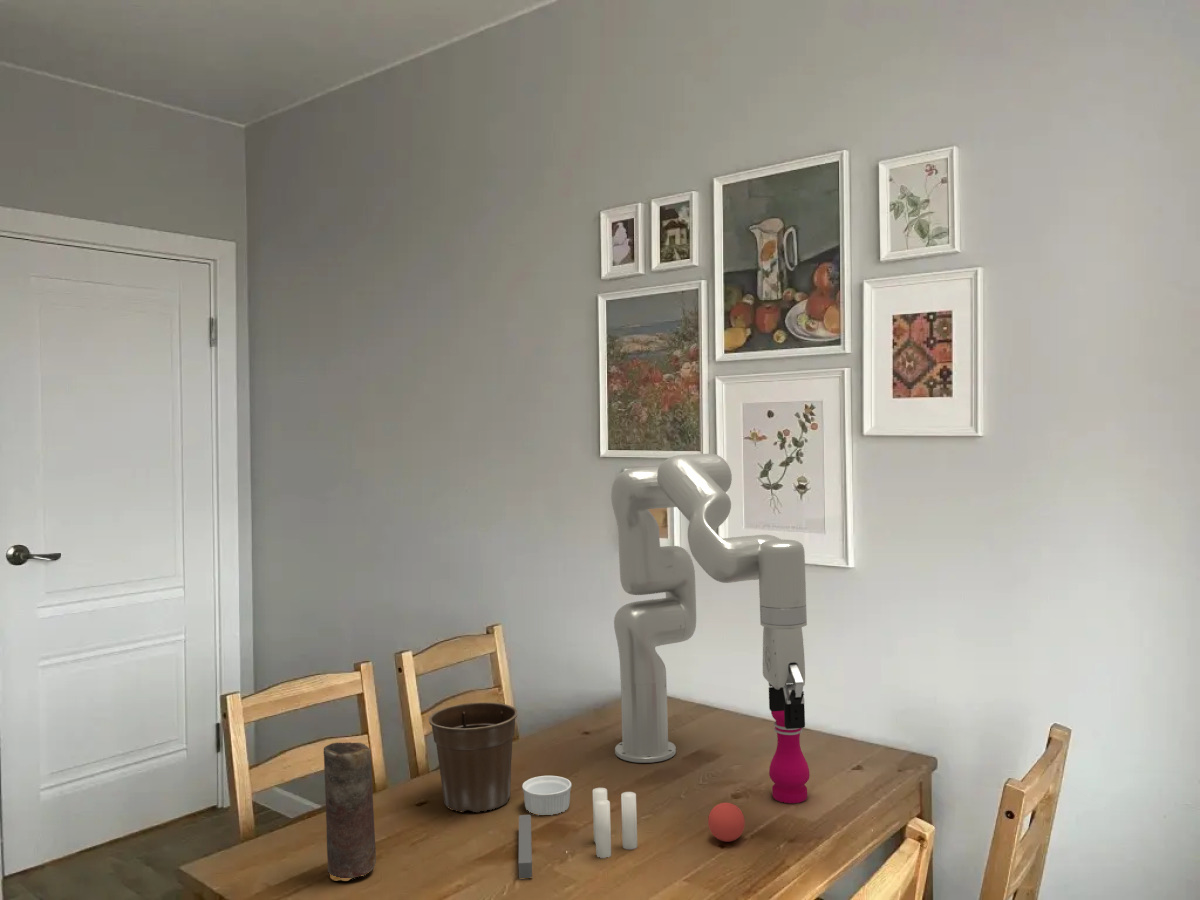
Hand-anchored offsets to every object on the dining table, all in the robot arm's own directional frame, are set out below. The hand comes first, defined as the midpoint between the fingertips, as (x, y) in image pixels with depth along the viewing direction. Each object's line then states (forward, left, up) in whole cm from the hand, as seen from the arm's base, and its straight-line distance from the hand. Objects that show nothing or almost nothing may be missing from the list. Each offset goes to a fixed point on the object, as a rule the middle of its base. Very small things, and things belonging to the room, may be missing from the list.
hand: (786, 718), depth 160 cm
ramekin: (-18, -40, -20) cm, 48 cm away
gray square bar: (0, -44, -19) cm, 48 cm away
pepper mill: (-16, +4, -20) cm, 26 cm away
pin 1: (-2, -31, -19) cm, 37 cm away
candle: (+3, -71, -20) cm, 73 cm away
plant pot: (-23, -53, -20) cm, 61 cm away
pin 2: (+3, -31, -19) cm, 37 cm away
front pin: (0, -27, -19) cm, 33 cm away
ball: (0, -11, -16) cm, 20 cm away
